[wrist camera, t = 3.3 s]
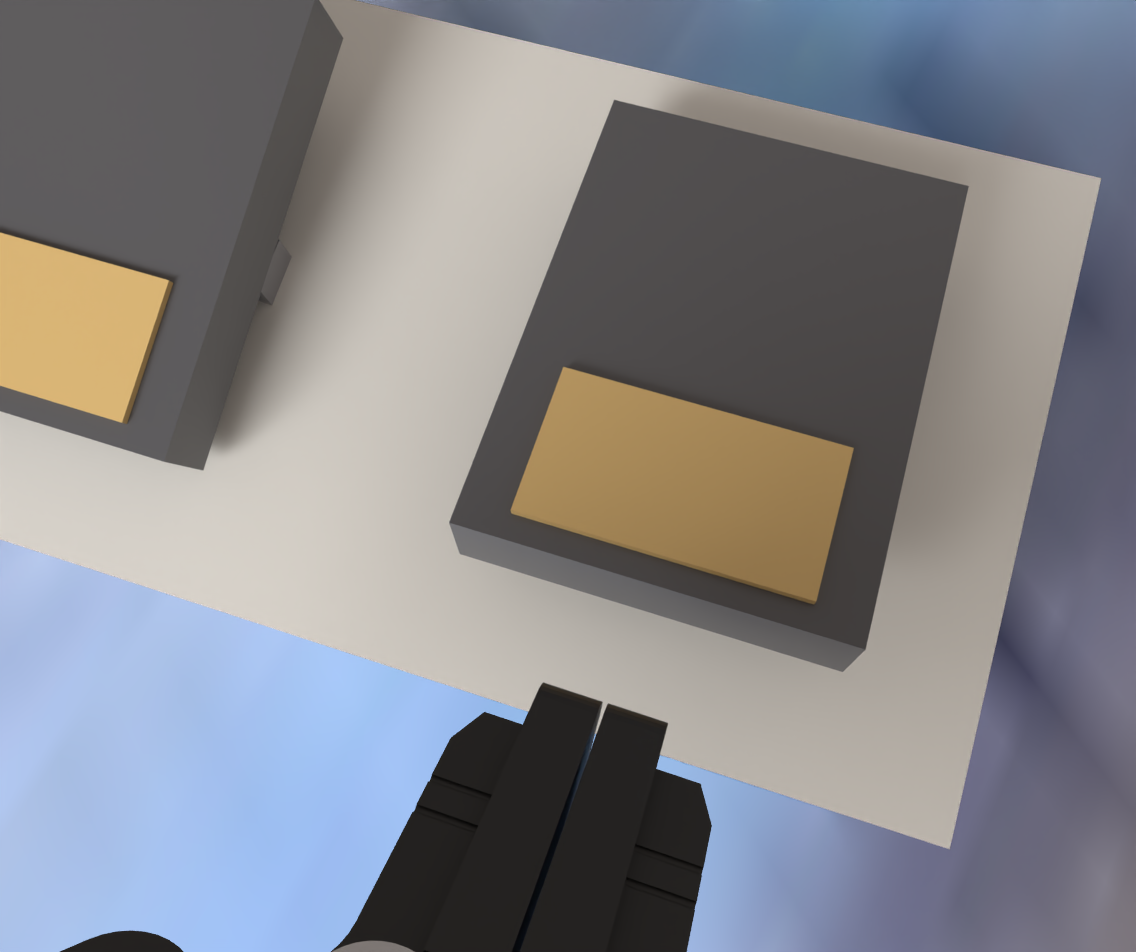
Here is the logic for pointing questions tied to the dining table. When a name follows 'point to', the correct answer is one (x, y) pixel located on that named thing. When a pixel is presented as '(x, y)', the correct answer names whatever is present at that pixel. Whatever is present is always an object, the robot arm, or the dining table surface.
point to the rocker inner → (145, 204)
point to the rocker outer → (719, 384)
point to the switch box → (470, 390)
